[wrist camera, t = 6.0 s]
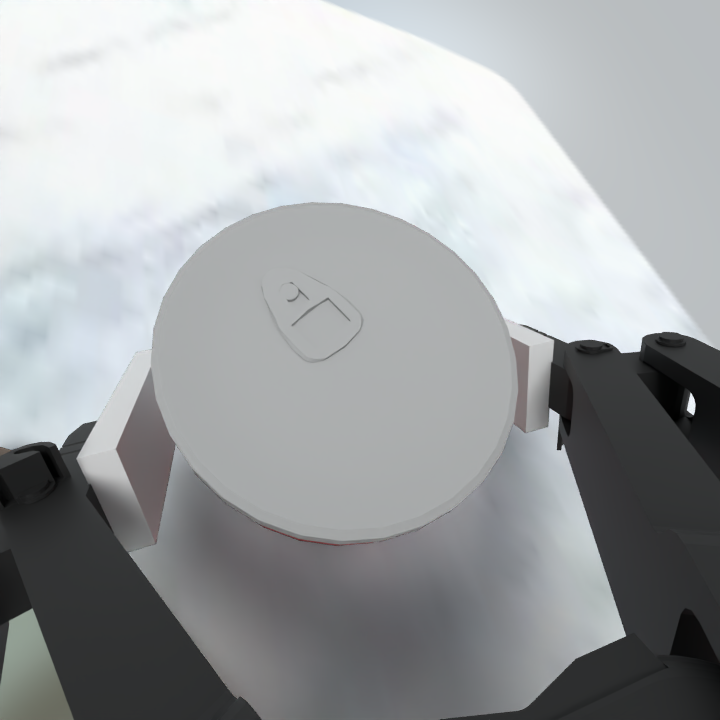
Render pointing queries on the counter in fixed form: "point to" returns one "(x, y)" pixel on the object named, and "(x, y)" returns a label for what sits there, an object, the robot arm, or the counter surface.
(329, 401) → the canned food
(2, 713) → the tray
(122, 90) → the counter surface
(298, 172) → the counter surface
